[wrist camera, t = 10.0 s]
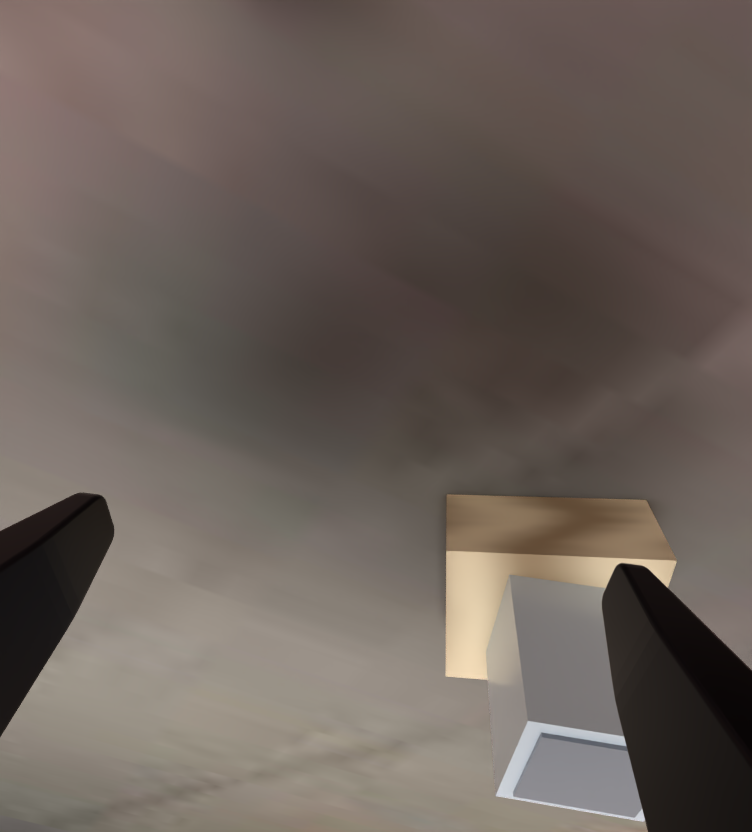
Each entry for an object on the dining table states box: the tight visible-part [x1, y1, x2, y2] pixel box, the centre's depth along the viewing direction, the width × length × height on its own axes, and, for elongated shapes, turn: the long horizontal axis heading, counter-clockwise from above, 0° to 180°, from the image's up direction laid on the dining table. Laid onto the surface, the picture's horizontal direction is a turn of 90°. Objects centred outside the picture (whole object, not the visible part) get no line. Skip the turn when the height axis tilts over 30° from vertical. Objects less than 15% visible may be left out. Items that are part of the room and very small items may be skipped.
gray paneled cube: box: [486, 575, 645, 822], centre depth 20 cm, size 6×6×6 cm
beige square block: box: [446, 494, 677, 680], centre depth 24 cm, size 9×9×4 cm
